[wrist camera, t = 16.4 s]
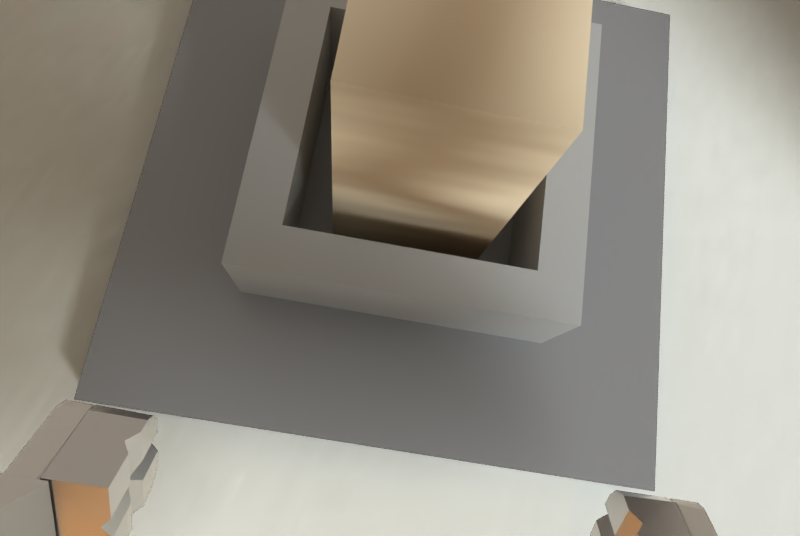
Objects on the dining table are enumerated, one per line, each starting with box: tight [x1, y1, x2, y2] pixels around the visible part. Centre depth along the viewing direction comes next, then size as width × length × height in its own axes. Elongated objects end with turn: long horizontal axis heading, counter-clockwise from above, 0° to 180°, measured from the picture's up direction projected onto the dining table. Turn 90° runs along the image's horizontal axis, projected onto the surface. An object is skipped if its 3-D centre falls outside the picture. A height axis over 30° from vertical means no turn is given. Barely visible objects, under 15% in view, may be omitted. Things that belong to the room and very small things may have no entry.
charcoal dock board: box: [74, 0, 670, 491], centre depth 18 cm, size 16×16×4 cm
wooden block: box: [331, 0, 593, 259], centre depth 15 cm, size 4×4×8 cm
